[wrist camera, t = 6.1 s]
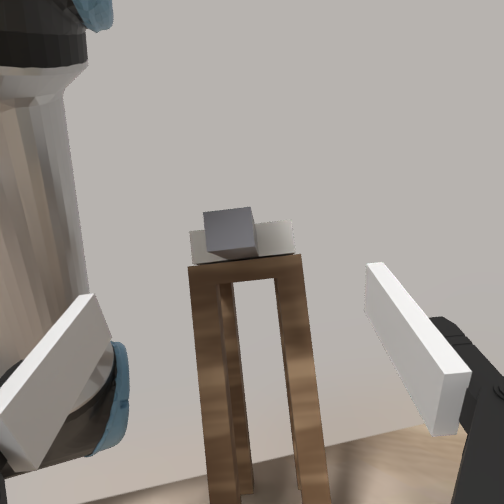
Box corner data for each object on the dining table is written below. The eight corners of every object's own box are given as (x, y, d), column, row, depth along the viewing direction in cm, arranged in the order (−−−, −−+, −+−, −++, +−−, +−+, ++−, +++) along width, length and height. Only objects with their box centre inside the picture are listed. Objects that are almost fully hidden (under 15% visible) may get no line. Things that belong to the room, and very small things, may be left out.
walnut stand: (341, 589, 28) (301, 253, 31) (218, 598, 29) (187, 266, 31) (314, 476, 44) (289, 261, 47) (236, 482, 45) (214, 269, 47)
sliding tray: (311, 239, 20) (305, 189, 20) (151, 258, 20) (147, 207, 20) (285, 260, 47) (283, 238, 47) (217, 267, 47) (215, 246, 47)
